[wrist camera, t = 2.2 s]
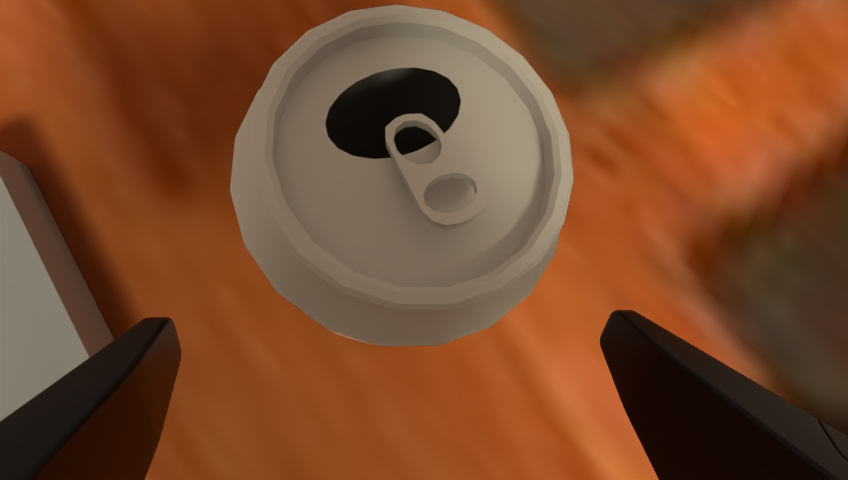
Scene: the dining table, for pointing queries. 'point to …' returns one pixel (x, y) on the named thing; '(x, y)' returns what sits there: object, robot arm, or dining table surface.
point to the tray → (39, 295)
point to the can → (402, 176)
